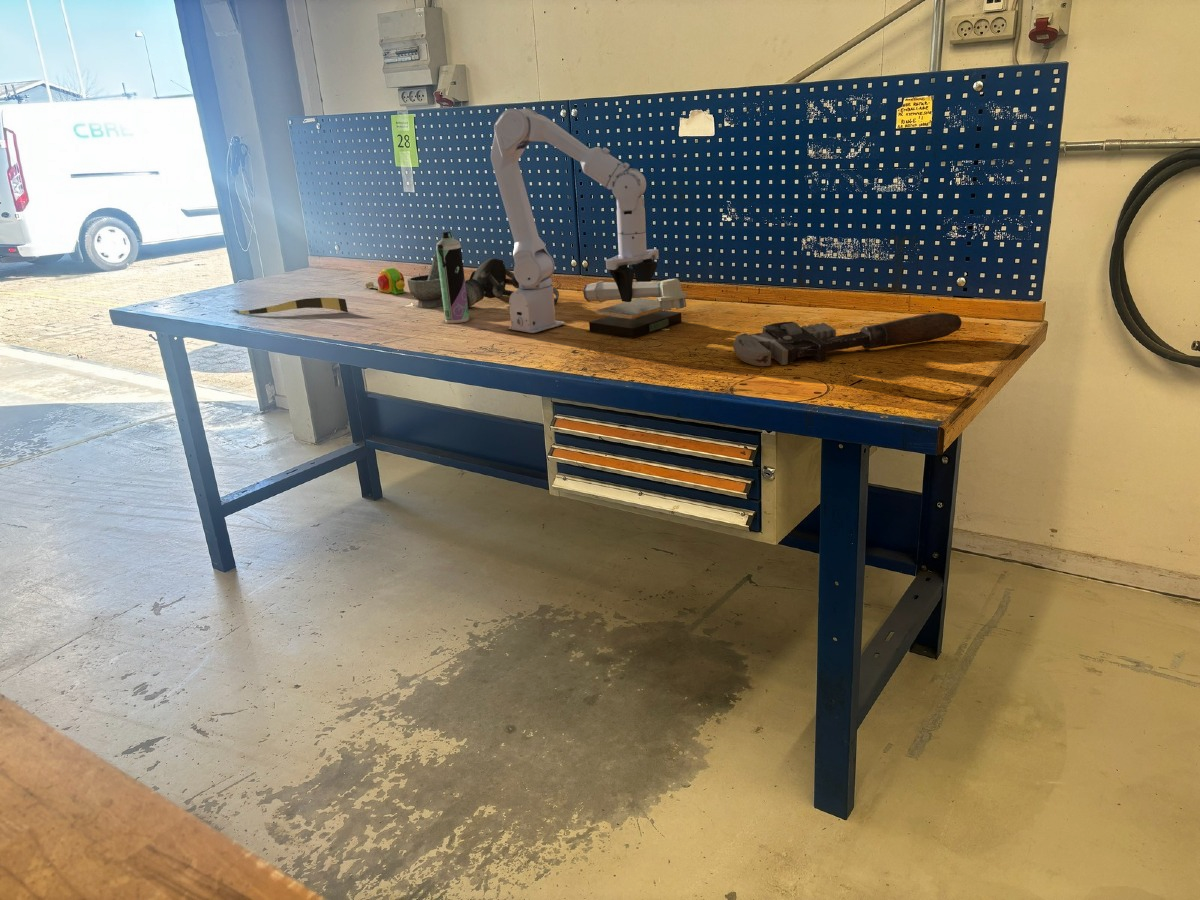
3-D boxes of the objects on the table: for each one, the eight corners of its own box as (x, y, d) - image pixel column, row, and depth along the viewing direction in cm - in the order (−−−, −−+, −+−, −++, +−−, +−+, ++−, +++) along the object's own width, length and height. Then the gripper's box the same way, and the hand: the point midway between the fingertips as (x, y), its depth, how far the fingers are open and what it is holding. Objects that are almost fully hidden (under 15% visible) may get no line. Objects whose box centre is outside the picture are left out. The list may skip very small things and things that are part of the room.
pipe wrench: (752, 379, 145) (753, 351, 142) (721, 352, 156) (721, 326, 153) (967, 340, 154) (972, 314, 152) (924, 318, 165) (927, 293, 163)
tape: (335, 318, 208) (332, 303, 206) (214, 315, 221) (211, 300, 219) (350, 312, 213) (347, 297, 211) (231, 309, 226) (228, 295, 224)
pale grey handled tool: (595, 280, 186) (688, 271, 170) (600, 310, 188) (693, 304, 172) (579, 284, 182) (673, 276, 166) (584, 315, 184) (678, 310, 168)
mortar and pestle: (431, 310, 208) (424, 260, 204) (403, 308, 213) (396, 259, 209) (461, 301, 217) (455, 253, 213) (433, 299, 222) (427, 252, 218)
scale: (635, 338, 170) (634, 328, 169) (589, 331, 178) (588, 322, 177) (683, 322, 181) (682, 312, 180) (638, 316, 189) (637, 307, 188)
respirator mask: (481, 282, 224) (509, 236, 216) (543, 335, 223) (573, 291, 215) (442, 297, 206) (471, 249, 199) (508, 355, 205) (540, 308, 198)
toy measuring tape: (393, 296, 229) (389, 271, 227) (359, 289, 243) (355, 266, 240) (414, 292, 233) (410, 268, 230) (379, 285, 246) (375, 262, 244)
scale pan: (632, 323, 171) (631, 315, 170) (595, 318, 177) (595, 310, 176) (674, 309, 180) (674, 302, 180) (638, 305, 186) (638, 298, 186)
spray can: (464, 323, 193) (453, 232, 185) (441, 323, 194) (430, 233, 186) (472, 317, 198) (462, 229, 190) (450, 318, 199) (439, 230, 191)
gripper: (623, 238, 165) (626, 307, 170) (669, 228, 175) (671, 294, 180) (596, 236, 169) (600, 304, 174) (642, 227, 179) (645, 291, 184)
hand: (634, 299), depth 177 cm, fingers closed on pale grey handled tool, 5 cm apart
